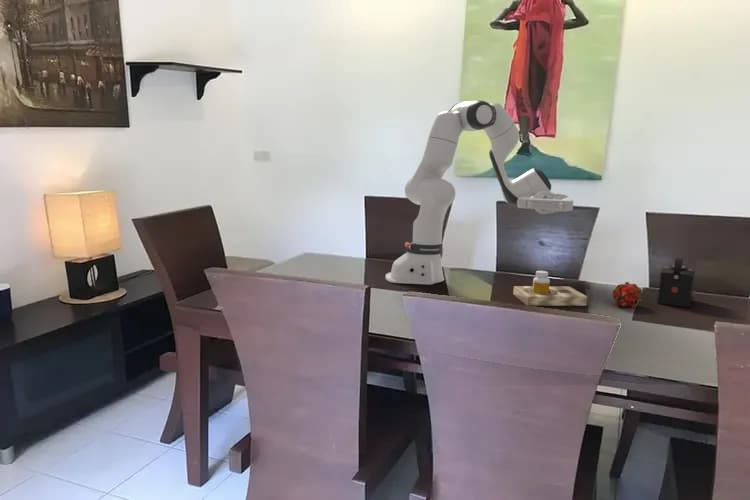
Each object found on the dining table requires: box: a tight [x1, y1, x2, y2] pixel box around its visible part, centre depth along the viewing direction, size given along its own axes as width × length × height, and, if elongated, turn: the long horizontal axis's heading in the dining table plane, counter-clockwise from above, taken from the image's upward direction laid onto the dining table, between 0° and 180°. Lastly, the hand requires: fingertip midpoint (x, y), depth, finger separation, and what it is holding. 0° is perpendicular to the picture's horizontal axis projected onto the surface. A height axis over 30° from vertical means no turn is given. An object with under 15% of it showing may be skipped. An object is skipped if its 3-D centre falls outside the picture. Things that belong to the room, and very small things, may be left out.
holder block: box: [512, 285, 588, 307], centre depth 191 cm, size 20×14×3 cm
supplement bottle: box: [532, 270, 551, 294], centre depth 191 cm, size 5×5×10 cm
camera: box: [657, 257, 696, 308], centre depth 192 cm, size 11×14×15 cm
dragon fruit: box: [612, 281, 643, 308], centre depth 185 cm, size 8×8×12 cm
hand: (545, 205), depth 208 cm, fingers open, 8 cm apart
